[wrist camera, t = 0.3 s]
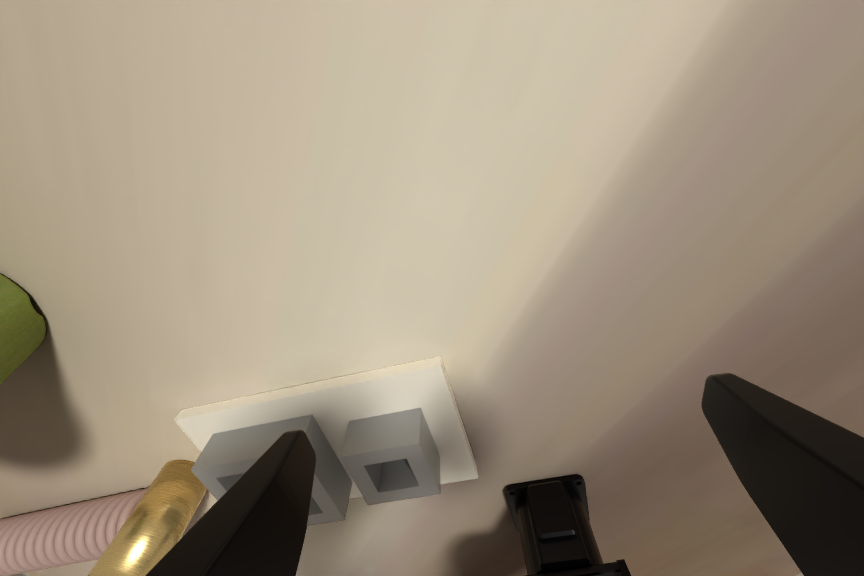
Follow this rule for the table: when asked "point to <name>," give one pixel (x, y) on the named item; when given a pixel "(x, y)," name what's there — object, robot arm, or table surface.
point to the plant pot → (17, 327)
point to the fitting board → (343, 436)
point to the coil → (63, 533)
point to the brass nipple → (154, 523)
